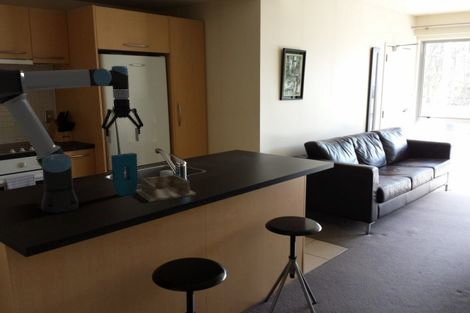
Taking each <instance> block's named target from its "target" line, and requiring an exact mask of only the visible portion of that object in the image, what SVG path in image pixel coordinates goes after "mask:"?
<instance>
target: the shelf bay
mask: <svg viewBox="0 0 470 313" xmlns="http://www.w3.org/2000/svg"><path fill="white" fill-rule="evenodd" d="M140 184H141V189H140V188H139V189H136V193H135V194H138V195H139V196H140V197H142V198H143V199H144V200H146V201H148V202H149V203H151V202H158V201H165V200H172V199H178V198H184V197H190V196H197V192H195V191H194V190H191V189H190V187H191V186H190V180H187V179H185V178H183V177H181V176H179V175H177V174H173V175H168V176H160V175H159V176H152V177H144V178H141V181H140Z"/></svg>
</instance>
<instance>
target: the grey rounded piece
mask: <svg viewBox="0 0 470 313" xmlns="http://www.w3.org/2000/svg"><path fill="white" fill-rule="evenodd" d="M168 175H174V170H171V169H164V170H160V171H159V177H160V176H168Z"/></svg>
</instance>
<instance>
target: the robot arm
mask: <svg viewBox="0 0 470 313" xmlns="http://www.w3.org/2000/svg"><path fill="white" fill-rule="evenodd" d="M128 69H129V68H128V67H127V66H126V65H113V66H111V69H109V70H108V69H107V68H104V67H99V68H90V69H88V68H86V69H85V68H84V69H82V68H81V69H58V70H38V71H37V70H36V71H34V70H33V71H23V70H22V69H11V68H8V69H7V68H0V105H1V106H3V107H6V108H7V110H8V112H10V115H11V116H12V117H13V119H14V120H15V122H16V123H17V124H16V125H18V127H19V128H20V130H21V132H22V133H23V134H24V136H25V138H26V139H27V141H28V142H29V144H30V145H31V147H32V149H33V150H34V152H35V153H36V157H35V160H36V162H37V163H38V165H39V166H40V167H41V170H42V178H43V191H44V193H43V197H42V202H41V206H40V208H41V209H40V210H41V212H42V213H47V214H58V213H65V212H70V211H73V210H76V209H78V208H79V207H80V206H79V203H80V202H79V200H78V198H77V196H76V193H75V191H74V182H73V181H74V180H73V171H72V170H73V169H72V168H73V167H72V164H73V162H72V158H71V156H69V155H68V154H66V153H65V152H64V150H63V149H62V148H61V146H60V145H56V144H55V143H54V141H53V140H52V138H51V137H50V135H49V133H48V131H47V130H46V129H45V127H44V125H43V123H42V122H41V120H40V119H39V117H38V116H37V114H36V112H35V110H34V109H33V107H32V105H31V104H30V102H29V101H28V99H27V95H28V93H27V91H38V90H57V89H71V88H74V89H75V88H84V87H85V88H88V87H112V98H113V109H111V108H107V109H106V110H107V111H106V115H105V118H104V119H103V122H102V123H101V126H100V128H101V129H103V130H105V137H107V143H108V144H112V137H111V136H112V135H111V129H110V128H111V127H112V126H113V124H114V123H115V121H116V120H117V119H118V118H119V119H126V118H127V119H129V121H130V122H131V123H132V124H133V125H134V126H135V128H134V134H135V135H134V138H135V142H140V140H139V139H140V138H139V135H140V134H141V128H142V127H144V123H143V121H142V120H141V117H140V116H139V114H138V111H137V108H135V107H134V108H131V106H130V99H129V98H130V88H129V87H130V85H129V84H130V83H129V70H128ZM131 113H132V114H133V115H134V118H135V119H134V118H133V116H131ZM112 114H114V115H113V116H112V118H111V120H110V121H109V119H110V117H111V115H112Z"/></svg>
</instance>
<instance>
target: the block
mask: <svg viewBox="0 0 470 313" xmlns="http://www.w3.org/2000/svg"><path fill="white" fill-rule="evenodd" d="M137 154H138V153H135V152H129V153H122V154H121V153H120V154H111V156H110V158H111V173H112V175H111V176H112V184H113V187H114V190H115V194H116V195H117V196H119V197H123V196H124V197H125V196H129V195H133V194H134V195H135V194H137V193H136V190H137V187H138V182H139V173H138V172H139V170H138V155H137ZM125 176H126V177H125Z"/></svg>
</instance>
